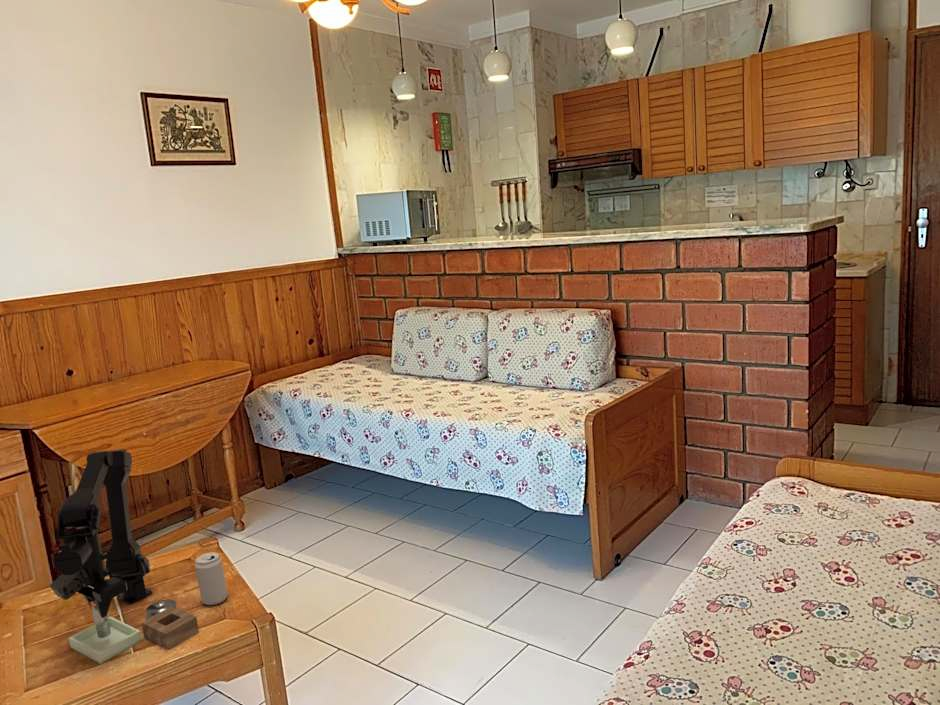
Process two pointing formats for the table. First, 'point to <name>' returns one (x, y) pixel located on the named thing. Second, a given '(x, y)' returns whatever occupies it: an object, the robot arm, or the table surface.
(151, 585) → the table surface
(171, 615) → the block
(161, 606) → the dark grey knobbed lid
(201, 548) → the table surface
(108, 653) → the tray
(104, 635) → the pin
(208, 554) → the beverage can
